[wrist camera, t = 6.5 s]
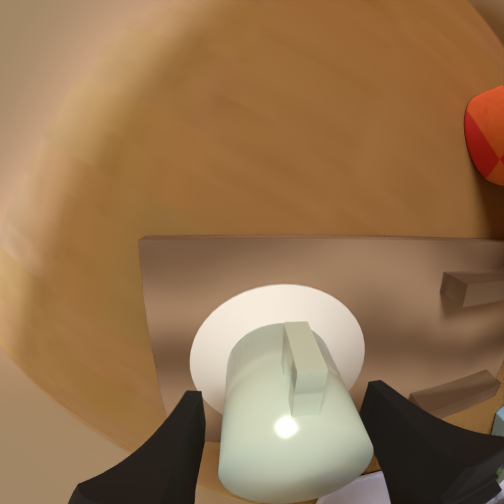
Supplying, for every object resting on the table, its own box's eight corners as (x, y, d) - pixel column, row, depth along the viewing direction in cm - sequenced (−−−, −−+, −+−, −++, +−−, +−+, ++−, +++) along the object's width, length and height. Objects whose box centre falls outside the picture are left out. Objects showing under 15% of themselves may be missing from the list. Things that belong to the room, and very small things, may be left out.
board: (484, 383, 17) (503, 402, 14) (175, 428, 16) (167, 463, 13) (526, 240, 14) (555, 250, 11) (145, 236, 13) (118, 251, 10)
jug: (322, 401, 14) (352, 493, 8) (228, 405, 14) (223, 504, 8) (340, 287, 13) (408, 369, 6) (224, 288, 13) (206, 384, 6)
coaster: (346, 414, 15) (348, 419, 15) (199, 421, 15) (199, 426, 15) (374, 280, 13) (377, 283, 13) (183, 283, 13) (181, 286, 12)
